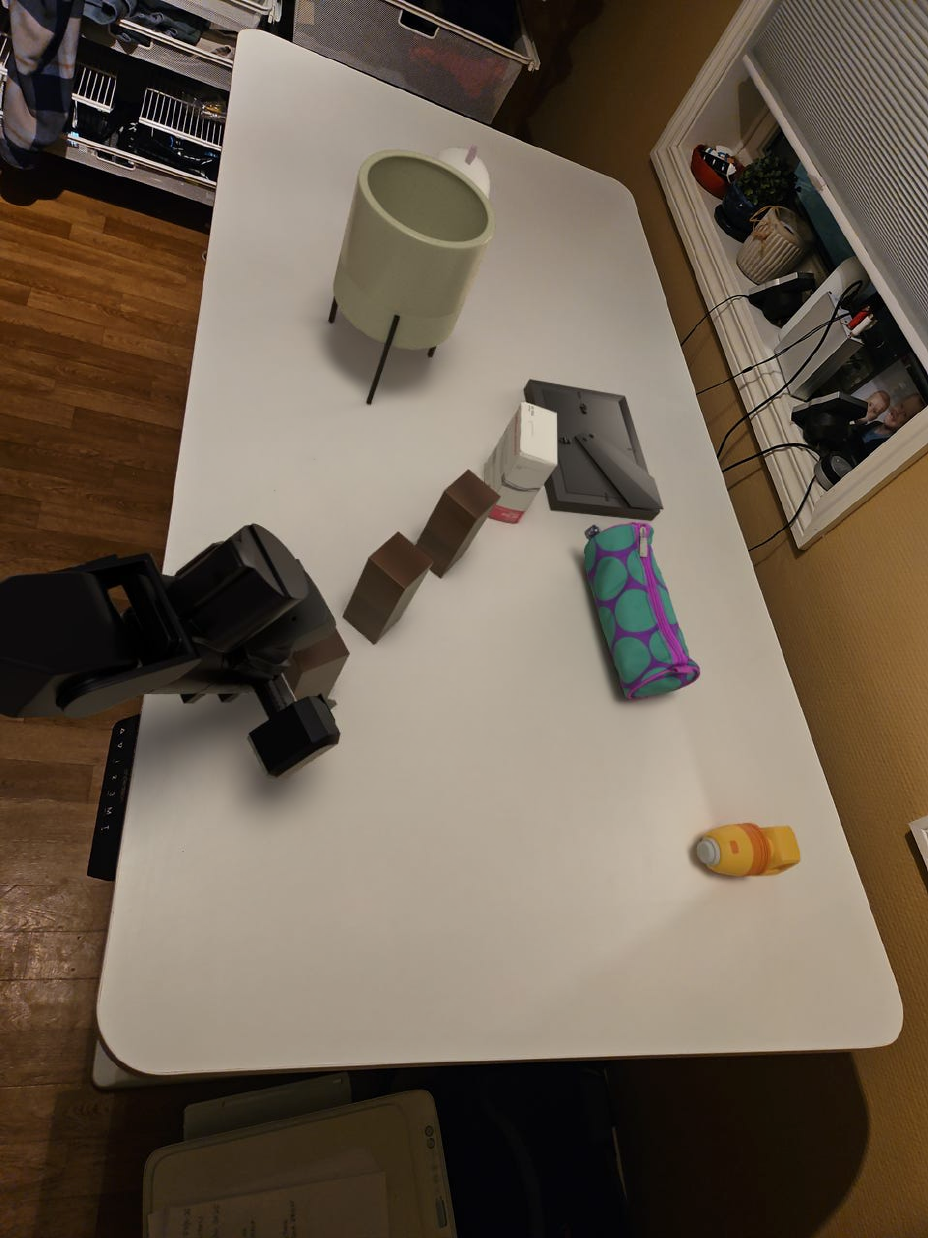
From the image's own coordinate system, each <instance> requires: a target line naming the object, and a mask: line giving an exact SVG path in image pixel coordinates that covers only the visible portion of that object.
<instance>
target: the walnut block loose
mask: <svg viewBox="0 0 928 1238" xmlns="http://www.w3.org/2000/svg"><path fill="white" fill-rule="evenodd" d="M350 655H351V652H350V650H349V649H348V647H347V645H346V643H345V641H344V639H343V638H342V636H341V634H340V632H339V630H338V629H337V627H336V629H335V631H334V633H333V634H332V635H330V636H329V637H327V638H325V639H322V640H320V641H318V642H316V643H315V644H313V645H311V646H309V647H307V648H305V649H304V650H302V651H300V652H298V653H296V654H294V655H292V656H291V657H290V658H289V659H288V661H289V662H290V664H291V667H289V668H288V669H287V670H285V671H284V672H283V674H284V676H285V678H286V680H287V681H288V683H289V685H290V687H291V689H292V691H293V693H294V695H295V697H296V699H297V700H300V699H302V698H305V697H307V696H317V695H319V694H320V693H322V695H323V697H324V699H325V700H326V699H329V696H330V694H331V693H332V690H333V689H334V687H335V684H336V682H337V681H338V679H339V677H340V674H341V673H342V671H343V669H344V667H345V665H346V663H347V661H348V659H349V657H350ZM275 682H276V681H275ZM277 686H278V685H277ZM286 704H287V703H286Z"/></svg>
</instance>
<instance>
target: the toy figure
mask: <svg viewBox="0 0 928 1238" xmlns="http://www.w3.org/2000/svg"><path fill="white" fill-rule="evenodd" d="M696 855H697V857H698V859H699V861H700V862H701V863H703V864H705V865H706V867H707V869H709V870H711V871H713V872H715V873H718V874H722V875H726V876H727V875H728V876H733V877H750V876H752V877H765V876H766V877H767V876H777V875H779V874H782V873H784V872H785V871H787V870H789V869H792V868H793V867H795V866H797V865H798V864H799V863H800V862H801V851H800V847H799V843H798V840H797V837H796V835H795V832H794V831H793V829H792V827H791V826H789V825H775V826H767V827H766V826H765V827H760V826H759V825H757V824H756V823H753V822H744V823H731V824H725V825H723V826H719V827H717V828H714V829H712V830H710V831H708V832H707V833H705V834H704V836H703V838H702V839H701V841H700V842H698V844H697V846H696Z"/></svg>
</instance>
